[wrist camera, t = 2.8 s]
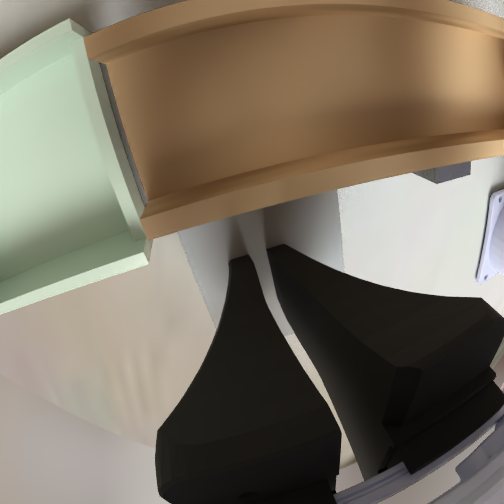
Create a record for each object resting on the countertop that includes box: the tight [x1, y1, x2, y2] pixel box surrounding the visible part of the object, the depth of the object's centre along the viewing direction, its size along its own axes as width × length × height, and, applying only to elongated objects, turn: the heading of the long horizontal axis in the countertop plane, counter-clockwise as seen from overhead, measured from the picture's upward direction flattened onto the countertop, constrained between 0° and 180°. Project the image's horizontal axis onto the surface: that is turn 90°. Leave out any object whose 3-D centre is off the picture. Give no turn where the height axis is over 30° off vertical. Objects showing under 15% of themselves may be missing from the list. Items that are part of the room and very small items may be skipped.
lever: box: [83, 0, 504, 336], centre depth 9 cm, size 18×11×3 cm, turn 103°
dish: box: [0, 18, 153, 315], centre depth 8 cm, size 10×9×4 cm
